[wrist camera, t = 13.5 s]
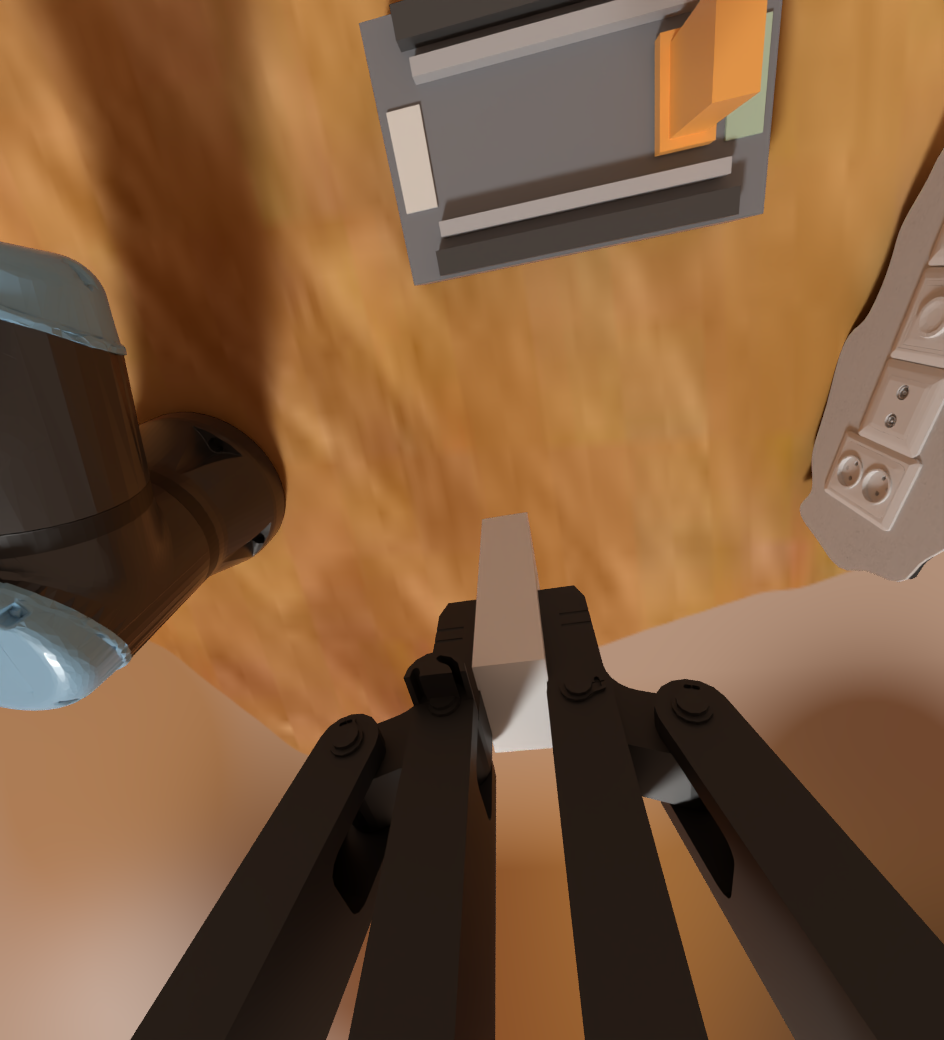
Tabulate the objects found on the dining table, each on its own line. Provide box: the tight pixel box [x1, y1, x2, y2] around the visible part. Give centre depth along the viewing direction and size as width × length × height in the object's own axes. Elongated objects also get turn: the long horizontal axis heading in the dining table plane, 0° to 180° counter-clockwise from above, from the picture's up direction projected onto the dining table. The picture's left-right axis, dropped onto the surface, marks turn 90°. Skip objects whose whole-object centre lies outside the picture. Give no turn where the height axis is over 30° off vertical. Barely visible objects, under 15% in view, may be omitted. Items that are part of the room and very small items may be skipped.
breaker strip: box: [359, 0, 782, 285], centre depth 28 cm, size 22×13×6 cm, turn 100°
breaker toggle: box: [655, 0, 767, 157], centre depth 22 cm, size 3×5×7 cm, turn 10°
